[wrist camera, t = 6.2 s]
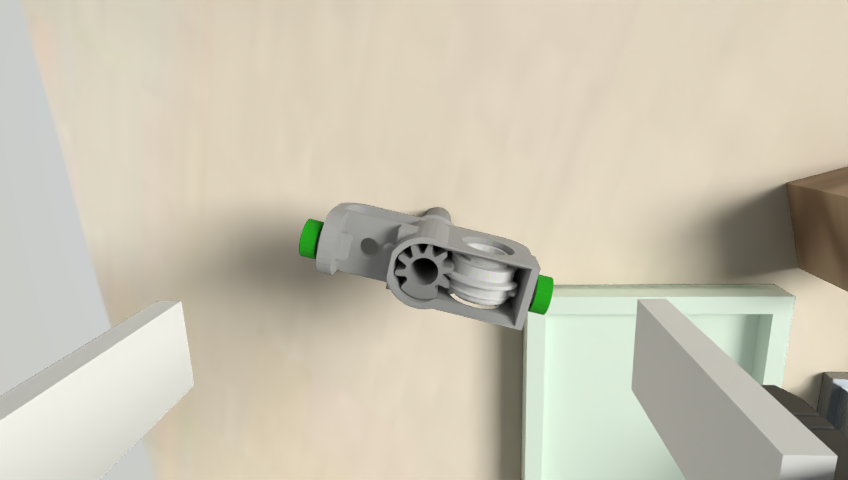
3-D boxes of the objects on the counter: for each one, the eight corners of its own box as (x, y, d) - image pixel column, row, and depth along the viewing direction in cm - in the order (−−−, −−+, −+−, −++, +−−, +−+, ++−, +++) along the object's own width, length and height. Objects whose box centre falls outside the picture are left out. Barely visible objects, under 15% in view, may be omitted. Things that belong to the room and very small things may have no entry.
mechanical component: (357, 175, 29) (304, 207, 20) (531, 216, 29) (562, 270, 20) (348, 224, 30) (292, 278, 21) (516, 265, 30) (540, 339, 20)
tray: (524, 285, 30) (527, 297, 28) (773, 284, 29) (795, 296, 27) (520, 511, 34) (523, 535, 32) (740, 518, 33) (757, 544, 31)
